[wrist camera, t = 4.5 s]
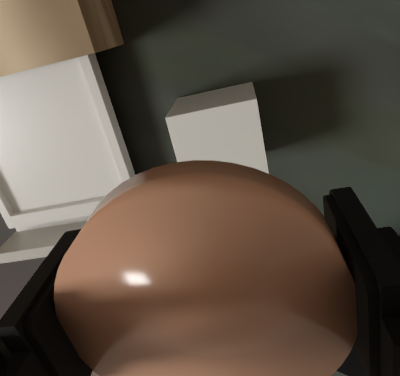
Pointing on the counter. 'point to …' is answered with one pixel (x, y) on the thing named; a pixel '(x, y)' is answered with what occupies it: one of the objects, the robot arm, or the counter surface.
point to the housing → (54, 31)
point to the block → (219, 127)
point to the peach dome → (207, 278)
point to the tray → (56, 153)
